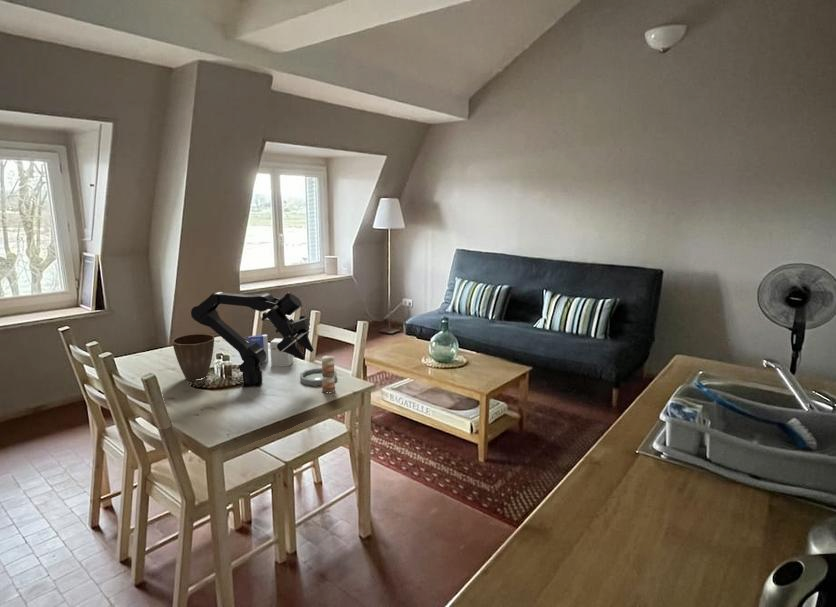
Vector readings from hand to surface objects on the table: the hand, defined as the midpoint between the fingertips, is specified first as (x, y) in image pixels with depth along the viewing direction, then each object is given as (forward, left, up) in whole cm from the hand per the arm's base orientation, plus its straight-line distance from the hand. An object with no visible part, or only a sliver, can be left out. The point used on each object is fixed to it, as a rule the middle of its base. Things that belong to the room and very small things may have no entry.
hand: (308, 355), depth 182 cm
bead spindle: (+7, -4, -13) cm, 15 cm away
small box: (-11, +30, -13) cm, 35 cm away
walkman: (-21, +34, -13) cm, 42 cm away
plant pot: (-43, +18, -13) cm, 49 cm away
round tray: (+4, +9, -13) cm, 16 cm away
